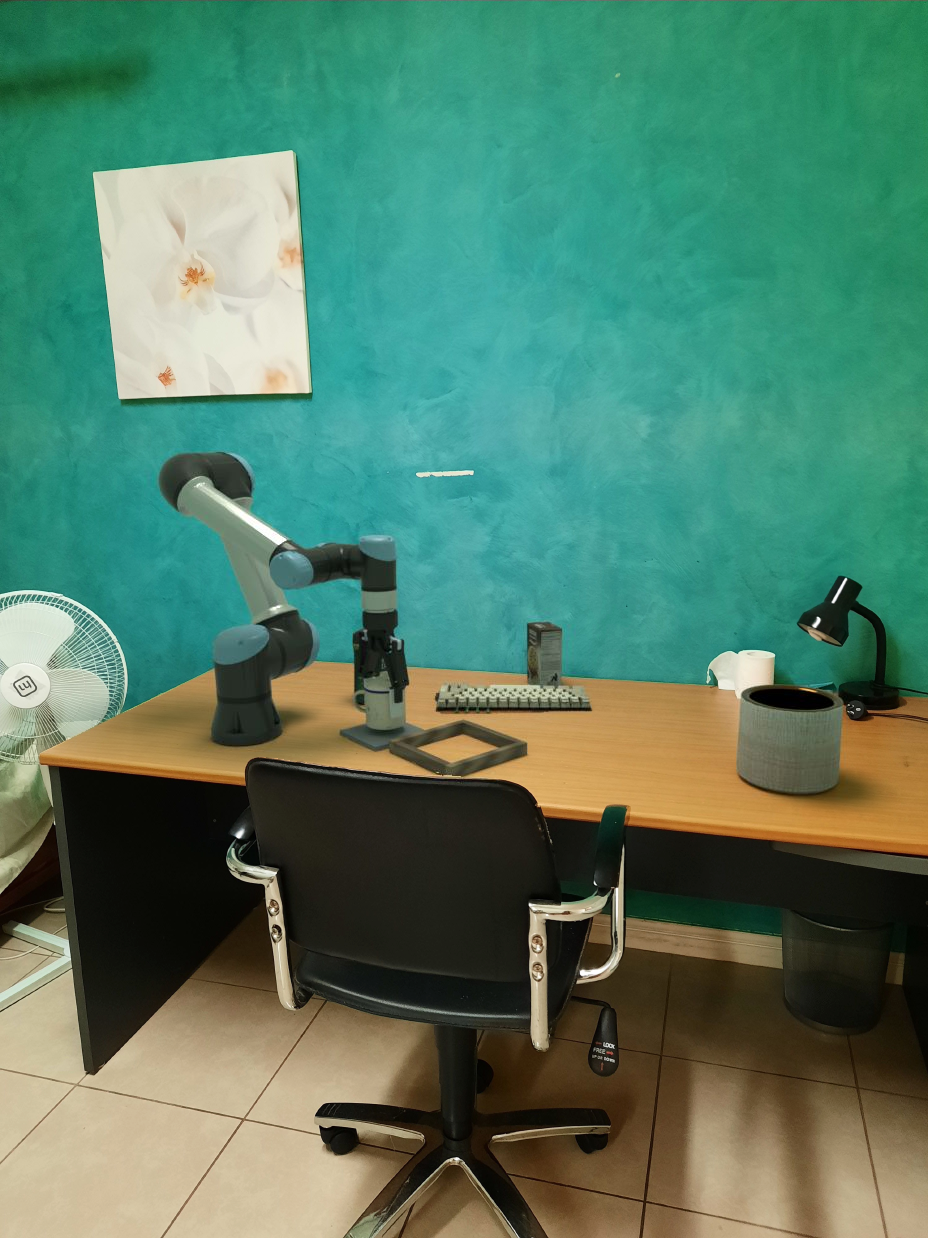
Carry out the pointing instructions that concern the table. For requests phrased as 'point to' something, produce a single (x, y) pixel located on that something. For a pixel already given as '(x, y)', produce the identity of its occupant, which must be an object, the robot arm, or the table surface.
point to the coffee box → (544, 654)
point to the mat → (377, 735)
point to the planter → (789, 738)
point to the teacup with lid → (379, 704)
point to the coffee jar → (357, 677)
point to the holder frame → (506, 752)
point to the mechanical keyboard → (509, 699)
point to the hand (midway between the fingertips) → (383, 711)
